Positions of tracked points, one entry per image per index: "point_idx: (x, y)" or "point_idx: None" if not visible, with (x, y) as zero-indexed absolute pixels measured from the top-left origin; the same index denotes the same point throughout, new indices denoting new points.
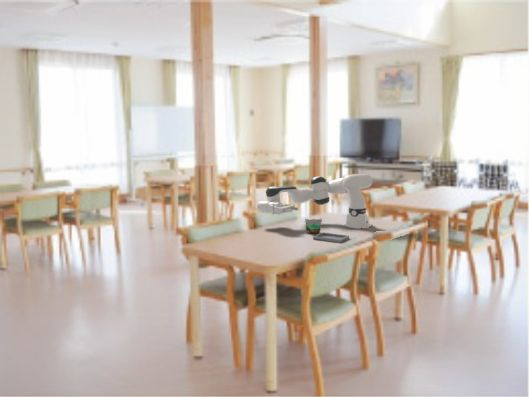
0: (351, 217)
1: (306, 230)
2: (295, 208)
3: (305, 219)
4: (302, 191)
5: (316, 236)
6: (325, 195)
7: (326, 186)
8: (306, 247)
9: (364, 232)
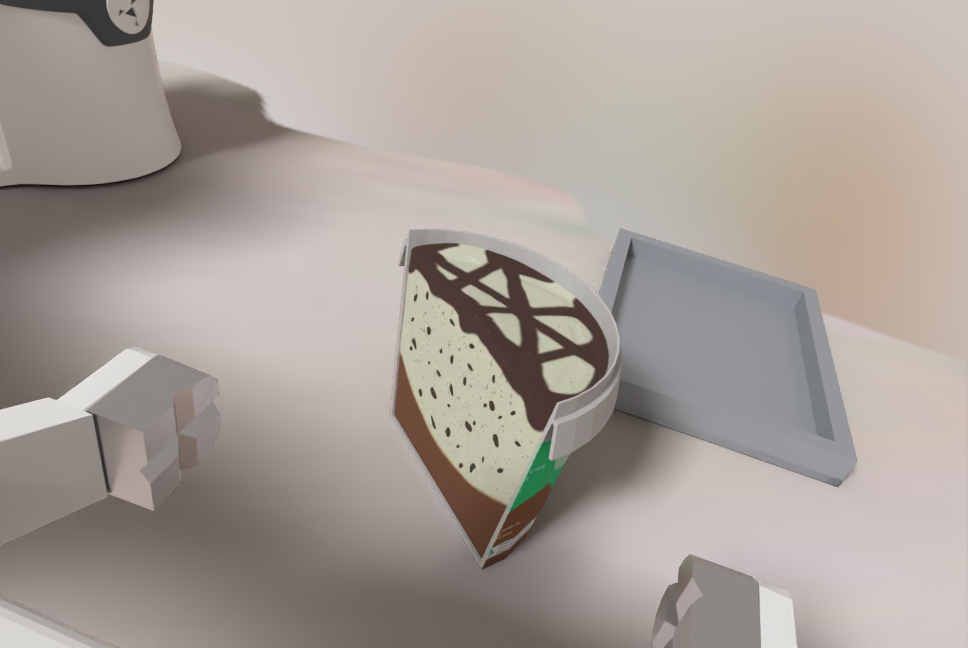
0: (107, 62)
1: (498, 543)
2: (159, 446)
3: (558, 415)
4: None
5: (833, 430)
6: None
7: None
8: None
9: (335, 155)
